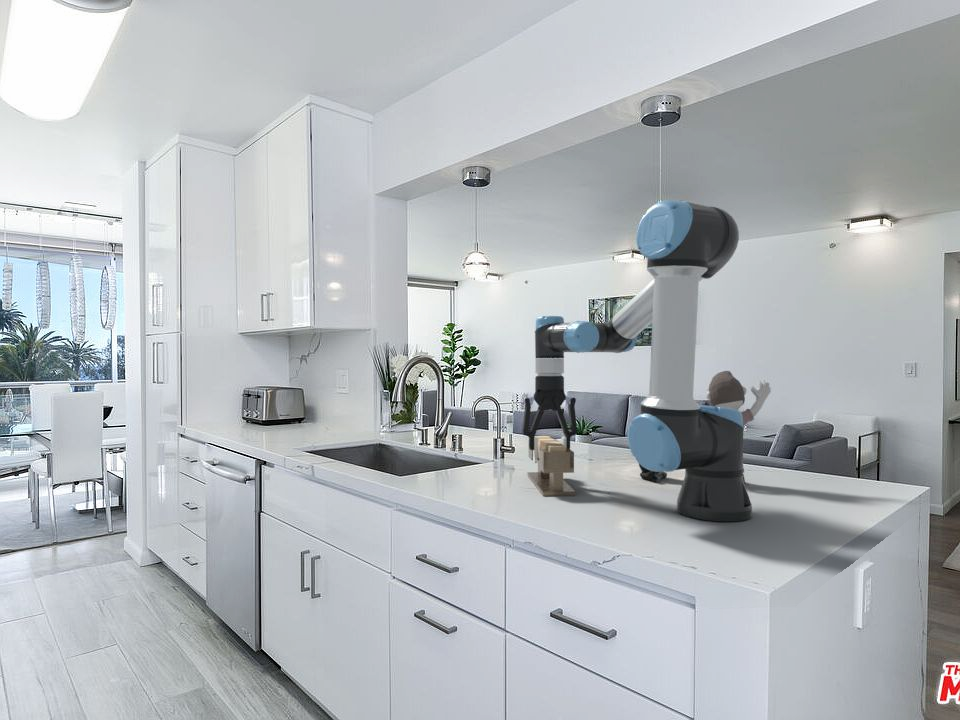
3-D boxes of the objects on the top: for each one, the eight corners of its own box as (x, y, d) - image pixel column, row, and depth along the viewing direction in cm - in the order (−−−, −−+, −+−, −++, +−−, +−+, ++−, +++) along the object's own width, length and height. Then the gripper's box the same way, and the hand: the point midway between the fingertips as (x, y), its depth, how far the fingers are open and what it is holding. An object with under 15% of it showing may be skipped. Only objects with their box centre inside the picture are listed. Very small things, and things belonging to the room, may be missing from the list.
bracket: (575, 495, 148) (575, 452, 148) (542, 496, 147) (542, 452, 147) (555, 475, 173) (555, 438, 173) (527, 475, 172) (527, 438, 172)
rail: (565, 466, 151) (565, 446, 151) (550, 467, 150) (550, 446, 150) (548, 453, 171) (548, 436, 171) (534, 454, 170) (534, 436, 170)
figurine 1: (667, 484, 160) (667, 427, 160) (630, 480, 166) (630, 425, 166) (676, 478, 169) (676, 424, 168) (641, 474, 174) (642, 422, 174)
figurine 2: (764, 479, 166) (764, 370, 166) (777, 487, 157) (777, 371, 157) (695, 478, 168) (695, 370, 168) (704, 485, 159) (704, 371, 159)
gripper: (583, 374, 164) (583, 459, 164) (510, 374, 163) (510, 460, 163) (590, 375, 157) (590, 464, 157) (513, 375, 155) (513, 465, 156)
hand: (549, 462), depth 160 cm, fingers open, 7 cm apart
